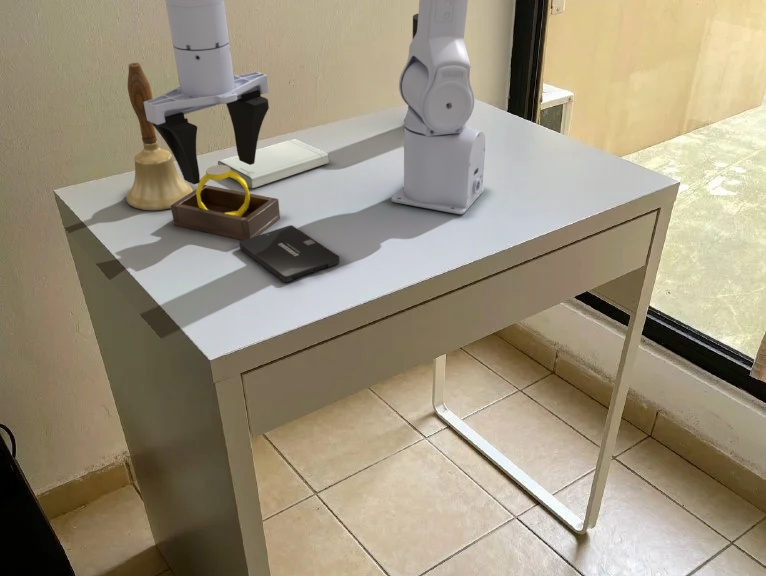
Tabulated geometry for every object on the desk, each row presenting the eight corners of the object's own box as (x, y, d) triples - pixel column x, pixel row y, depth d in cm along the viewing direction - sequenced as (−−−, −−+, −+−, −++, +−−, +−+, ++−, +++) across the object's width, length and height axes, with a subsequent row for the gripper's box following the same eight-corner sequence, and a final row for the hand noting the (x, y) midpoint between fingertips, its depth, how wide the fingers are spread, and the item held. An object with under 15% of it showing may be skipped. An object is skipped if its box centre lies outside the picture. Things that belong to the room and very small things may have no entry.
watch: (251, 210, 93) (245, 162, 89) (253, 220, 91) (247, 171, 87) (200, 215, 92) (192, 166, 88) (201, 225, 90) (192, 176, 86)
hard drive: (251, 177, 98) (328, 152, 104) (216, 159, 103) (292, 136, 109) (253, 190, 99) (329, 164, 105) (218, 171, 104) (293, 148, 110)
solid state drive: (291, 230, 89) (291, 224, 89) (341, 262, 83) (340, 257, 83) (238, 247, 86) (237, 241, 86) (285, 283, 80) (285, 277, 79)
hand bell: (207, 195, 97) (185, 62, 88) (151, 217, 93) (121, 78, 83) (169, 178, 102) (144, 49, 92) (113, 197, 97) (81, 64, 87)
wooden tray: (280, 218, 92) (278, 198, 91) (250, 241, 87) (247, 221, 86) (206, 203, 96) (203, 184, 94) (173, 225, 91) (170, 205, 89)
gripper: (161, 65, 73) (186, 201, 81) (280, 36, 81) (291, 162, 89) (122, 52, 77) (150, 182, 85) (240, 25, 85) (254, 147, 93)
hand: (220, 171), depth 88 cm, fingers open, 7 cm apart
